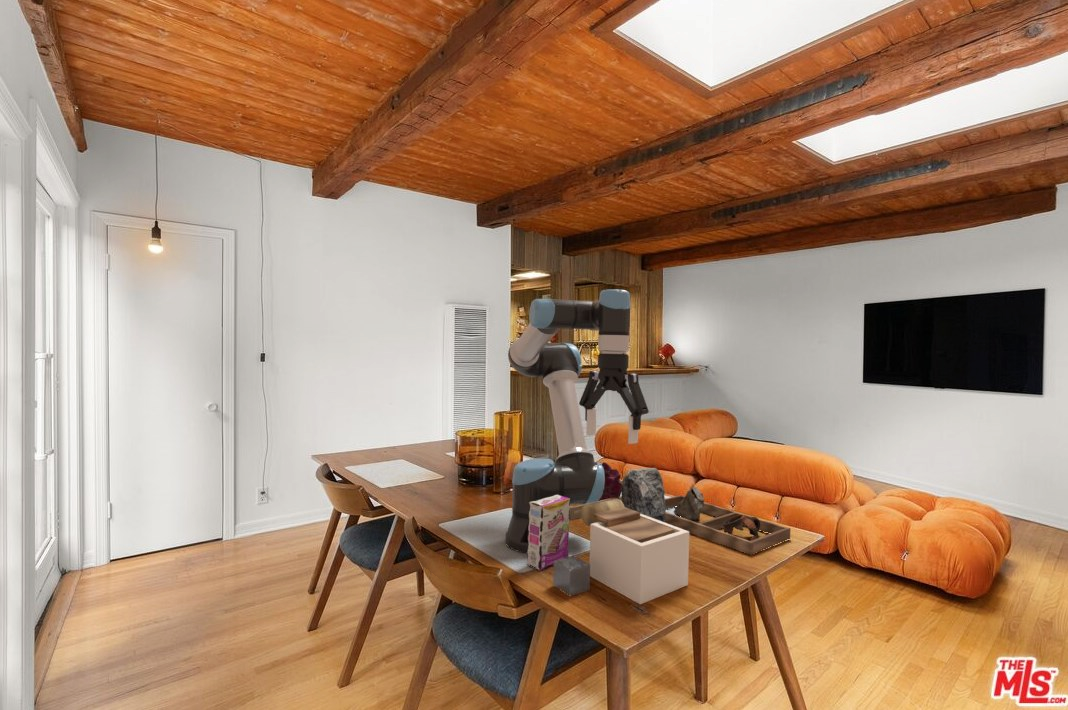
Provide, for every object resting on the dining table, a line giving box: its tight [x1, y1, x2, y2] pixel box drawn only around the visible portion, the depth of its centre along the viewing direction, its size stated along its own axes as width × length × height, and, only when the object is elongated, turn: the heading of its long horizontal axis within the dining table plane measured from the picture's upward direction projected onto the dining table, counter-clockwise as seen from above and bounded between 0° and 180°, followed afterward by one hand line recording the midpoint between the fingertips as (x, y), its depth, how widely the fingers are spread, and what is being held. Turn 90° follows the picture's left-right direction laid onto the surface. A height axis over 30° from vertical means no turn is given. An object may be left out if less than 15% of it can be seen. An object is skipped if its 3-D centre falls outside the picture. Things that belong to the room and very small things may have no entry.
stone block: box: [621, 467, 666, 522], centre depth 152 cm, size 18×9×20 cm, turn 132°
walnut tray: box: [665, 494, 791, 556], centre depth 160 cm, size 40×21×4 cm, turn 36°
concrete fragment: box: [673, 486, 705, 522], centre depth 168 cm, size 6×19×11 cm, turn 14°
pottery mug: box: [723, 514, 760, 541], centre depth 151 cm, size 12×10×8 cm
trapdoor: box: [581, 499, 674, 543], centre depth 126 cm, size 20×13×5 cm, turn 36°
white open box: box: [589, 514, 690, 605], centre depth 122 cm, size 17×17×13 cm
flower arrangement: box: [598, 462, 622, 501], centre depth 187 cm, size 31×20×15 cm, turn 48°
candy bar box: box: [526, 495, 571, 572], centre depth 131 cm, size 11×5×16 cm, turn 136°
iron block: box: [552, 555, 591, 596], centre depth 117 cm, size 6×6×6 cm
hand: (611, 438), depth 124 cm, fingers open, 13 cm apart
